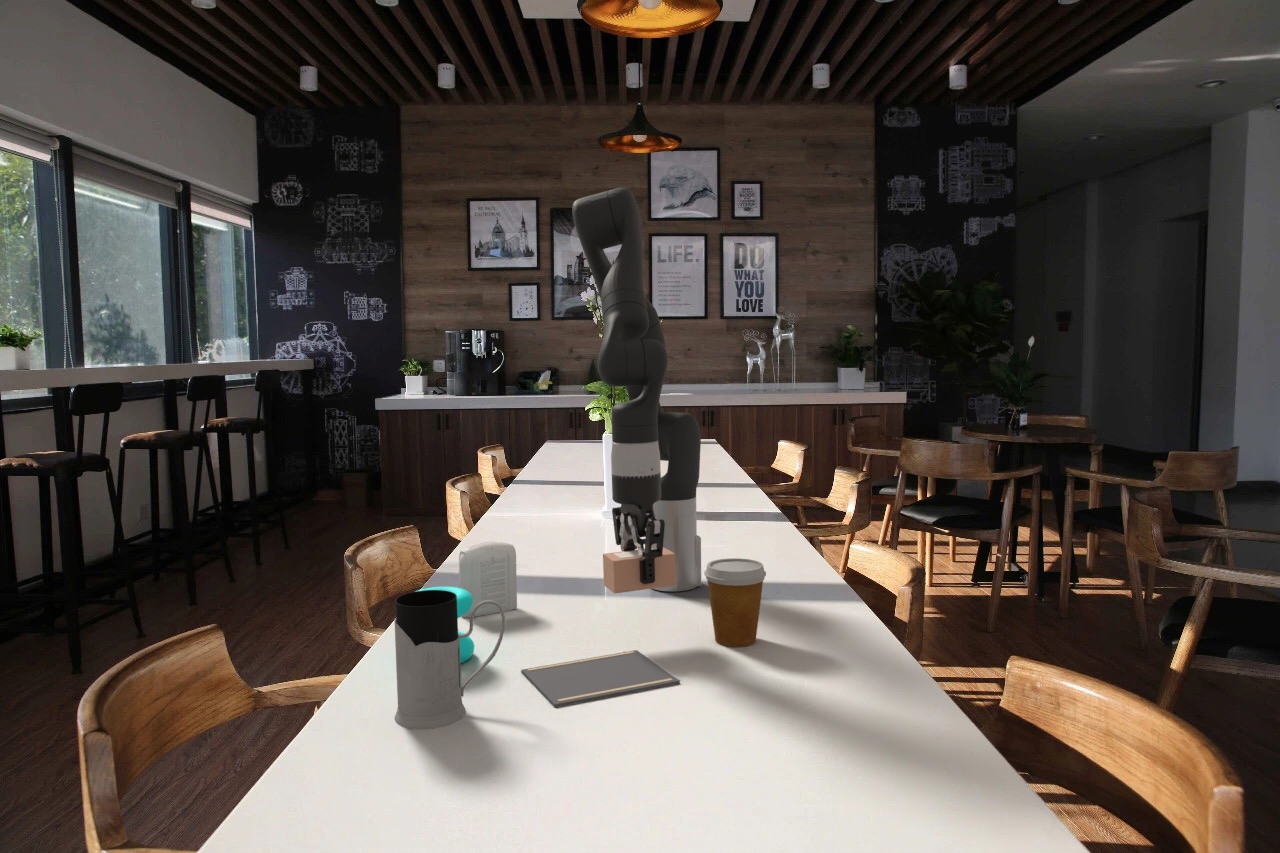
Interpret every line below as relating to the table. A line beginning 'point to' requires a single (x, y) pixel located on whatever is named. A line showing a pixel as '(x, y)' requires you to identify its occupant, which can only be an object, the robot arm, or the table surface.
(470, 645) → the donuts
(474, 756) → the table surface
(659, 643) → the table surface
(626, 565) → the card box
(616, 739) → the table surface
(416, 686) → the glass holder
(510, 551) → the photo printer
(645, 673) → the mat
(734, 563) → the disposable coffee cup
